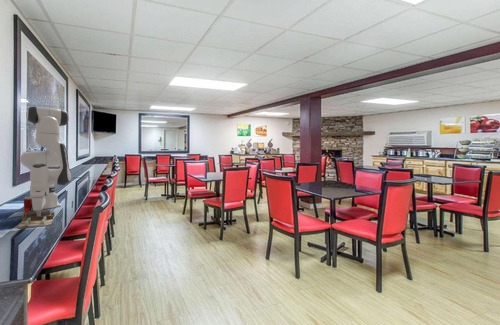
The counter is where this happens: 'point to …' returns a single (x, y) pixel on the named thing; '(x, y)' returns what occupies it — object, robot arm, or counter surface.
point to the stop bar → (43, 213)
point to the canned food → (28, 204)
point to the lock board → (36, 221)
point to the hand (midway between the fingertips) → (39, 215)
